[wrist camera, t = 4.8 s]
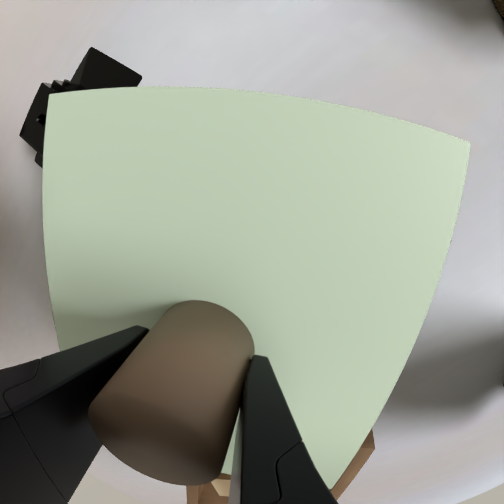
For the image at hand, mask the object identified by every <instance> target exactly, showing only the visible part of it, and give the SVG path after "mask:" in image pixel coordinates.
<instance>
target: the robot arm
mask: <svg viewBox="0 0 504 504" xmlns="http://www.w3.org/2000/svg"><path fill="white" fill-rule="evenodd" d="M149 331H150V330H149V329H148V328H146V327H142V326H139V325H135V326H132V327H129V328H127V329H124V330H121V331H118V332H115V333H113V334H110V335H107V336H104V337H101V338H98V339H95V340H93V341H90V342H87V343H84V344H81V345H78V346H75V347H72V348H69V349H66V350H63V351H60V352H57V353H54V354H51V355H48V356H45V357H42V358H41V360H40V359H36V360H33V361H30V362H27V363H23V364H20V365H17V366H13V367H9V368H5V369H1V370H0V504H68V503H67V502H69V500H70V499H71V497H72V495H73V493H74V492H75V490H76V488H77V487H78V485H79V483H80V481H81V480H82V478H83V476H84V475H85V473H86V471H87V470H88V468H89V466H90V465H91V463H92V461H93V460H94V458H95V456H96V455H97V453H98V451H99V450H100V448H101V446H102V445H103V444H102V443H101V441H100V440H99V439H98V438H97V436H96V435H95V433H94V431H93V429H92V427H91V425H90V422H89V418H88V410H89V406H90V404H91V403H92V401H93V400H94V399H95V398H96V396H97V395H98V394H99V393H100V391H101V390H102V389H103V388H104V386H105V385H106V384H107V383H108V381H109V380H110V379H111V378H112V376H113V375H114V374H115V373H116V371H117V370H118V369H119V368H120V366H121V365H122V364H123V363H124V362H125V360H126V359H127V358H128V357H129V355H130V354H131V353H132V352H133V351H134V349H135V348H136V347H137V346H138V344H139V343H140V342H141V341H142V340H143V338H144V337H145V336H146V335H147V334H148V332H149ZM503 386H504V384H503ZM302 440H303V439H302V437H301V435H300V432H299V430H298V428H297V425H296V423H295V421H294V418H293V416H292V414H291V411H290V409H289V406H288V404H287V402H286V399H285V397H284V395H283V392H282V390H281V387H280V385H279V383H278V380H277V378H276V375H275V373H274V371H273V368H272V366H271V363H270V361H269V359H268V357H266V356H261V355H256V354H255V355H253V356H252V359H251V363H250V366H249V369H248V372H247V375H246V379H245V384H244V389H243V395H242V401H241V406H240V411H239V417H238V422H237V428H236V435H235V445H234V454H233V463H232V472H231V482H230V491H229V500H228V504H338V502H337V501H336V499H335V498H334V496H333V495H332V493H331V492H330V490H329V489H328V487H327V485H326V484H325V482H324V481H323V479H322V477H321V476H320V474H319V472H318V471H317V469H316V467H315V465H314V463H313V461H312V459H311V457H310V455H309V453H308V450H307V448H306V446H305V444H304V442H303V441H302Z"/></svg>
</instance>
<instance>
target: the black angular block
mask: <svg viewBox="0 0 504 504" xmlns="http://www.w3.org/2000/svg"><path fill="white" fill-rule="evenodd" d="M141 80H142V76H141V75H139V74H138V73H136V72H134V71H133V70H131V69H129V68H128V67H126V66H124V65H123V64H121V63H119V62H118V61H116V60H114V59H112V58H111V57H109V56H107V55H105V54H104V53H102V52H100V51H98V50H97V49H95V48H93V47H91V48H90V49H89V50H88V52H87V54H86V55H85V57H84V58H83V60H82V62H81V64H80V65H79V67H78V69H77V70H76V72H75V74H74V76H73V78H72V79H71V81H69V80H66V79H65V80H64V81H58V80H54V81H53V83H52V84H49V83H41V85H40V87H39V90H38V92H37V94H36V96H35V98H34V100H33V103H32V105H31V107H30V110H29V112H28V114H27V117H26V119H25V122H24V124H23V127H22V129H21V132H20V135H19V136H20V137H21V138H23V139H24V140H25V141H26V142H27V143H28V144H29V145H30V146H31V147H32V148H33V149H34V150H35V151H37V155H36V157H35V162H36V163H37V164H38V165H39V166H40V167H41V168H43V152H44V137H45V126H46V116H47V108H48V100H49V94H55V93H63V92H71V91H81V90H91V89H104V88H121V87H137V86H138V84H139V83H140V81H141Z"/></svg>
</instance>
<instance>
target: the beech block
mask: <svg viewBox="0 0 504 504" xmlns="http://www.w3.org/2000/svg"><path fill="white" fill-rule="evenodd" d="M230 482H231V475H230V474H225V473H221V474H220V475H219V476H218V477H217V478H216V479H215V480H213V481H212V482H211V483H212V485H213V486H214V488H215V489H216V491H217V493H218V494H219V496H229V491H230Z"/></svg>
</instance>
